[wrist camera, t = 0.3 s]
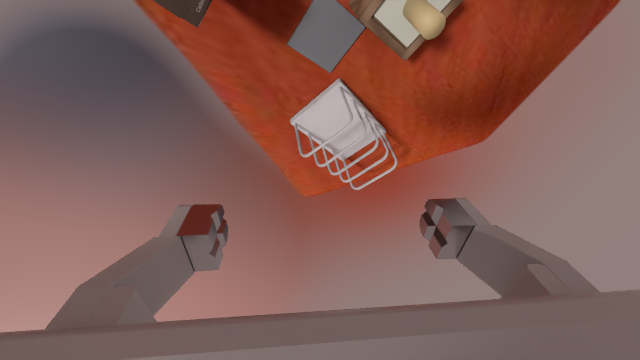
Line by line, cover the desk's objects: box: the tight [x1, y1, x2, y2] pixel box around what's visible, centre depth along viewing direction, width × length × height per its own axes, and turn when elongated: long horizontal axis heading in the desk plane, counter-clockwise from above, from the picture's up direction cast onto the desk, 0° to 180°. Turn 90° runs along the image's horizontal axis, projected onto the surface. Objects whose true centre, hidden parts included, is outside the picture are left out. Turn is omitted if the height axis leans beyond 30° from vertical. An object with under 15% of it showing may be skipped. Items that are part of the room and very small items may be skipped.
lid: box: [373, 0, 451, 47], centre depth 42 cm, size 10×10×9 cm
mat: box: [287, 0, 365, 73], centre depth 53 cm, size 12×12×1 cm
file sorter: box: [290, 79, 397, 190], centre depth 69 cm, size 25×17×16 cm
